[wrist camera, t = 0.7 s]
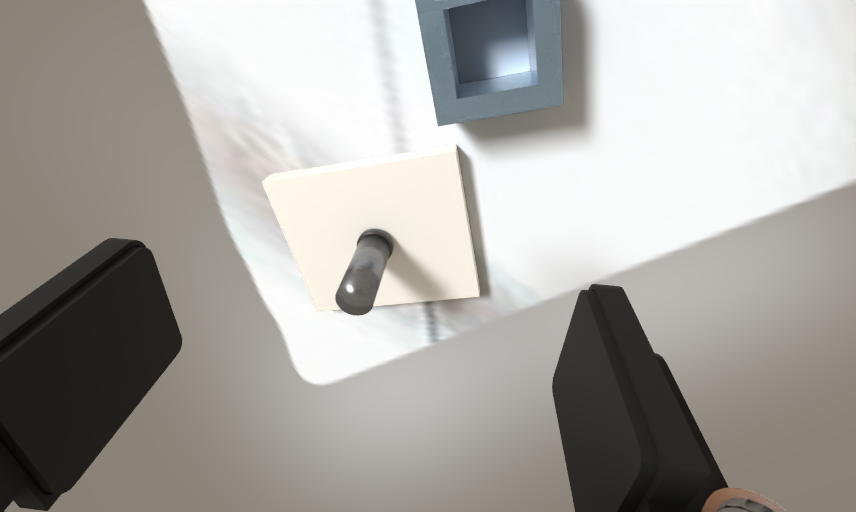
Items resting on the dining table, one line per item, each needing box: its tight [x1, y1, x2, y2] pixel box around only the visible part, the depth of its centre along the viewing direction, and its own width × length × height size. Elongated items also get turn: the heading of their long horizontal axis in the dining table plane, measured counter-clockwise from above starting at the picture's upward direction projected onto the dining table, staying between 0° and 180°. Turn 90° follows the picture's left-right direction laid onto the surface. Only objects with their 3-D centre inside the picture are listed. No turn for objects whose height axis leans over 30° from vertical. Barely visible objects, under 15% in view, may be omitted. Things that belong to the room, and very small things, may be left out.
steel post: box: [335, 229, 394, 315], centre depth 30 cm, size 3×3×7 cm
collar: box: [415, 0, 564, 126], centre depth 24 cm, size 7×7×4 cm
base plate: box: [262, 145, 480, 312], centre depth 33 cm, size 14×12×2 cm
